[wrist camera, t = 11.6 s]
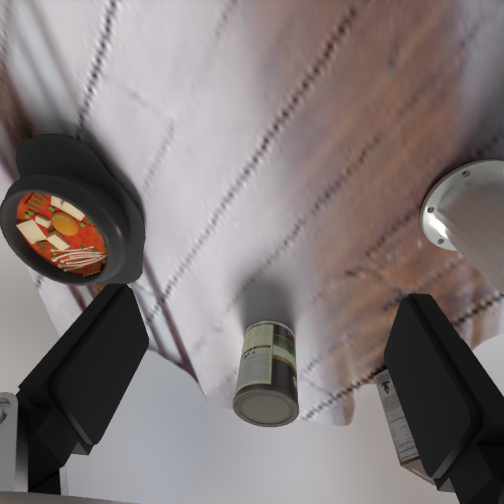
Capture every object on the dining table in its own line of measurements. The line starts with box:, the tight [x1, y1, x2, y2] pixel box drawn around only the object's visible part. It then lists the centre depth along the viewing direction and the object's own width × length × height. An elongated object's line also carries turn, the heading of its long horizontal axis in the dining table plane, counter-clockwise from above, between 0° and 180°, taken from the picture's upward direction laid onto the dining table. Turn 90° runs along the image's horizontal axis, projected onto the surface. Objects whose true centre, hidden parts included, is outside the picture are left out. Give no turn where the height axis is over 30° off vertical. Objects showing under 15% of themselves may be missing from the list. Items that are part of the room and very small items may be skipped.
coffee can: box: [233, 320, 299, 427], centre depth 48 cm, size 10×10×14 cm
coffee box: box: [374, 369, 435, 485], centre depth 50 cm, size 9×6×16 cm
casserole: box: [0, 134, 145, 286], centre depth 40 cm, size 25×19×8 cm
